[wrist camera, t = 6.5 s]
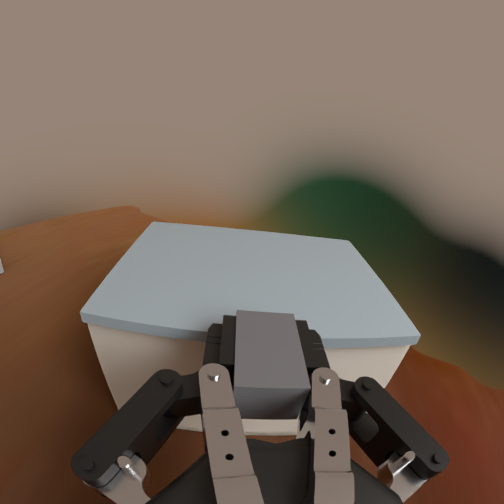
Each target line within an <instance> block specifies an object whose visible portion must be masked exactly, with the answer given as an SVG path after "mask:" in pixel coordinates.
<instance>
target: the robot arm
mask: <svg viewBox="0 0 504 504" xmlns="http://www.w3.org/2000/svg"><path fill="white" fill-rule="evenodd" d="M295 321H296V325H297V329H298V334H299V338H300V342H301V347H302V351H303V355H304V360H305V364H306V368H307V373H308V377H309V382H310V386H311V389H310V391H309V393H308V396H307V398H306V400H305V402H304V405H303V407H302V409H301V411H300V413H299V415H298V426H297V437H296V439H294V440H290V441H287V442H283V443H278V444H275V443H270V442H265V441H260V440H256V439H246V438H245V433H244V429H243V425H242V420H241V416H240V411H239V408H238V407H236V405H235V400H234V396H233V391H232V384H233V375H234V366H235V338H236V316H233V315H223V324H217V323H212V325H211V326H210V327H209V328H208V332H207V338H206V345H205V351H204V358H203V364H202V367H201V368H200V369H199V370H198V371H197V372H195V373H193V374H189V375H182V376H180V374H179V373H177V372H176V371H174V370H171V369H162V370H159V371H157V372H155V373H154V374H153V375H152V376H151V377H150V378H149V379H148V381H147V382H146V383H145V384H144V385H143V386H142V387H141V388H140V389H139V390H138V391H137V392H136V393H135V394H134V395H133V396H132V397H131V398H130V399H129V400H128V401H127V402H126V403H125V404H124V405H123V406H122V407H121V408H120V409H119V410H118V411H117V412H116V413H115V414H114V415H113V416H112V417H111V418H110V419H109V420H108V421H107V422H106V423H105V424H104V425H103V426H102V427H101V428H100V429H99V430H98V431H97V432H96V433H95V434H94V435H93V436H92V437H91V438H90V439H89V440H88V441H87V442H86V443H85V444H84V445H83V446H82V447H81V448H80V449H79V450H78V451H77V452H76V453H75V454H74V456H73V457H72V460H71V466H72V469H73V471H74V473H75V474H76V475H77V476H78V477H79V478H80V479H82V481H83V482H84V483H85V484H86V485H88V486H89V487H90V488H92V489H93V490H94V491H96V492H97V493H99V494H101V495H102V496H104V497H106V498H110V499H111V500H113V501H114V502H115V503H117V504H403V502H404V501H405V500H406V499H407V498H409V497H410V496H411V495H412V494H413V493H414V492H415V491H416V490H417V489H418V488H419V487H420V486H421V485H423V484H424V483H426V482H427V481H429V480H430V479H432V478H433V477H434V476H436V475H437V474H439V473H440V472H441V471H443V470H444V469H445V468H446V467H447V466H448V463H449V456H448V454H447V452H446V451H445V450H444V449H443V448H442V447H441V446H440V445H439V444H438V443H437V442H436V441H435V440H434V439H433V438H432V437H431V436H430V435H429V434H428V433H427V432H426V431H425V430H424V429H423V428H422V427H421V426H420V425H419V424H418V423H417V422H416V421H415V420H414V418H413V417H412V416H411V415H410V414H409V413H408V412H407V411H406V410H405V409H404V408H403V407H402V406H401V405H400V404H399V403H398V402H397V401H396V400H395V399H394V398H393V397H392V396H391V395H390V394H389V393H388V392H387V391H386V390H385V389H384V388H383V387H382V386H381V385H380V384H379V383H378V382H377V381H376V380H375V379H373V378H371V377H367V376H363V377H359V378H358V379H357V380H356V381H355V382H352V381H348V380H343V379H341V378H339V376H338V374H337V373H336V372H335V371H333V370H332V369H330V365H329V362H328V359H327V356H326V352H325V350H324V346H323V344H322V340H321V337H320V335H319V334H318V333H317V332H316V330H312V329H309V327H308V324H307V321H306V320H295ZM366 412H367V413H368V414H369V415H370V416H369V415H368V414H367V413H366ZM198 414H201V423H202V431H203V440H204V449H205V454H203V455H202V456H201V457H200V458H199V459H198V460H197V461H196V462H195V463H193V464H192V465H191V466H190V467H189V468H188V469H187V470H185V471H184V472H183V473H182V474H181V475H180V476H178V477H177V478H176V479H175V480H174V481H173V482H171V483H170V484H169V485H168V486H166V487H165V488H164V489H163V490H162V491H160V492H159V493H158V494H156V495H155V496H154V497H153V498H151V499H150V498H149V496H148V493H147V488H148V486H149V484H150V482H151V474H150V472H149V470H148V468H147V467H146V465H147V464H148V463H149V461H150V460H151V459H152V458H153V457H154V455H155V454H156V453H157V452H158V450H159V449H160V448H161V447H162V445H163V444H164V443H165V442H166V440H167V439H168V438H169V436H170V435H171V434H172V433H173V431H174V430H175V429H176V427H177V426H178V425H179V424H180V422H181V421H182V420H183V418H184V417H185V416H192V415H198ZM370 417H371V418H372V419H373V420H374V421H375V422H376V423H377V424H378V425H377V424H376V423H375V422H374V421H373V420H372V419H371V418H370ZM349 434H350V435H351V437H352V438H353V439H354V440H355V441H356V443H357V444H358V445H359V446H360V447H361V449H362V450H363V451H364V452H365V453H366V454H367V456H368V457H369V458H370V459H371V460H372V461H373V463H374V464H375V465H376V466H377V467H378V477H377V478H375V477H374V476H373V475H371V474H370V473H369V472H367V471H366V470H365V469H363V468H362V467H361V466H360V465H358V464H357V463H356V462H355V461H353V460H352V459H351V458H350V445H349Z"/></svg>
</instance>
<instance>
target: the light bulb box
mask: <svg viewBox="0 0 504 504" xmlns="http://www.w3.org/2000/svg"><path fill="white" fill-rule="evenodd" d="M1 273H4V270H3V266H2V262H1V258H0V274H1Z"/></svg>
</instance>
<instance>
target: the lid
mask: <svg viewBox="0 0 504 504" xmlns="http://www.w3.org/2000/svg"><path fill="white" fill-rule="evenodd" d="M80 315H81V319H82V322H85V323H89V324H94V325H99V326H104V327H109V328H114V329H119V330H125V331H130V332H136V333H142V334H148V335H155V336H162V337H169V338H176V339H184V340H193V341H201V342H206V338H207V332H208V328H209V327H210V326H211V325H212V323H217V324H223V315H233V316H236V338H235V366H234V375H233V384H232V391H233V396H234V400H235V405H236V407H238V408H239V411H240V416H241V419H260V420H291V419H297V418H298V415H299V413H300V411H301V409H302V407H303V405H304V402H305V400H306V398H307V396H308V393H309V391H310V389H311V386H310V382H309V377H308V373H307V368H306V364H305V360H304V355H303V351H302V347H301V342H300V338H299V334H298V329H297V325H296V321H295V320H306V321H307V324H308V327H309V329H312V330H316V332H317V333H318V334H319V335H320V337H321V340H322V344H323V346H324V348H363V347H384V346H400V345H413V344H417V342H418V340H419V338H420V336H421V335H420V333H419V332H418V331H417V329H416V328H415V326H414V325H413V323H412V322H411V321H410V319H409V318H408V316H407V315H406V314H405V312H404V311H403V310H402V308H401V307H400V305H399V304H398V303H397V301H396V300H395V299H394V297H393V296H392V294H391V293H390V292H389V290H388V289H387V288H386V287H385V285H384V284H383V283H382V281H381V280H380V279H379V277H378V276H377V275H376V274H375V272H374V271H373V270H372V269H371V267H370V266H369V265H368V263H367V262H366V261H365V260H364V259H363V257H362V256H361V255H360V254H359V252H358V251H357V250H356V249H355V248H354V246H353V245H352V244H351V243H350V242H349V241H345V240H337V239H329V238H320V237H311V236H301V235H292V234H283V233H272V232H262V231H253V230H242V229H232V228H221V227H211V226H199V225H188V224H176V223H163V222H152V223H151V224H150V226H149V227H148V228H147V229H146V230H145V231H144V232H143V233H142V235H141V236H140V237H139V238H138V239H137V240H136V241H135V243H134V244H133V245H132V246H131V247H130V248H129V250H128V251H127V252H126V253H125V254H124V256H123V257H122V258H121V259H120V260H119V262H118V263H117V264H116V265H115V266H114V268H113V269H112V270H111V271H110V273H109V274H108V275H107V276H106V278H105V279H104V280H103V282H102V283H101V284H100V285H99V287H98V288H97V289H96V291H95V292H94V293H93V295H92V296H91V297H90V298H89V300H88V301H87V303H86V304H85V305H84V307H83V308H82V309H81V311H80Z"/></svg>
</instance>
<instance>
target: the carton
mask: <svg viewBox="0 0 504 504" xmlns="http://www.w3.org/2000/svg"><path fill="white" fill-rule="evenodd" d="M87 324H88V327H89V331H90V334H91V338H92V341H93V344H94V347H95V350H96V353H97V356H98V359H99V362H100V365H101V368H102V371H103V373H104V376H105V379H106V381H107V384H108V386H109V389H110V391H111V394H112V396H113V398H114V401H115V403H116V405H117V408H118V410H119V409H120V408H121V407H122V406H123V405H124V404H125V403H126V402H127V401H128V400H129V399H130V398H131V397H132V396H133V395H134V394H135V393H136V392H137V391H138V390H139V389H140V388H141V387H142V386H143V385H144V384H145V383H146V382H147V381H148V379H149V378H150V377H151V376H152V375H153V374H154V373H155V372H157V371H159V370H162V369H171V370H174V371H176V372H177V373H179V374H180V376H182V375H189V374H193V373H195V372H197V371H198V370H199V369H200V368H201V367H202V364H203V358H204V351H205V345H206V342H201V341H193V340H184V339H176V338H169V337H162V336H155V335H148V334H142V333H136V332H130V331H125V330H119V329H114V328H109V327H104V326H99V325H94V324H89V323H87ZM409 347H410V345H400V346H384V347H363V348H324V350H325V352H326V356H327V359H328V362H329V365H330V369H332V370H333V371H335V372H336V373H337V374H338V376H339V378H341V379H343V380H348V381H352V382H355V381H356V380H357V379H358V378H359V377H363V376H367V377H371V378H373V379H375V380H376V381H377V382H378V383H379V384H380V385H381V386H382V387H383V388H385V387H386V385H387V384H388V382H389V380H390V379H391V377H392V376H393V374H394V372H395V371H396V369H397V367H398V366H399V364H400V362H401V361H402V359H403V357H404V356H405V354H406V352H407V350H408V348H409ZM366 413H367V412H366ZM241 420H242V425H243V429H244V433H245V435H297V426H298V418H297V419H291V420H260V419H241ZM176 428H177V429H184V430H191V431H200V432H203V431H202V423H201V414H198V415H192V416H185V417H184V418H183V420H182V421H181V422H180V424H179V425H178V426H177V427H176Z"/></svg>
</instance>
